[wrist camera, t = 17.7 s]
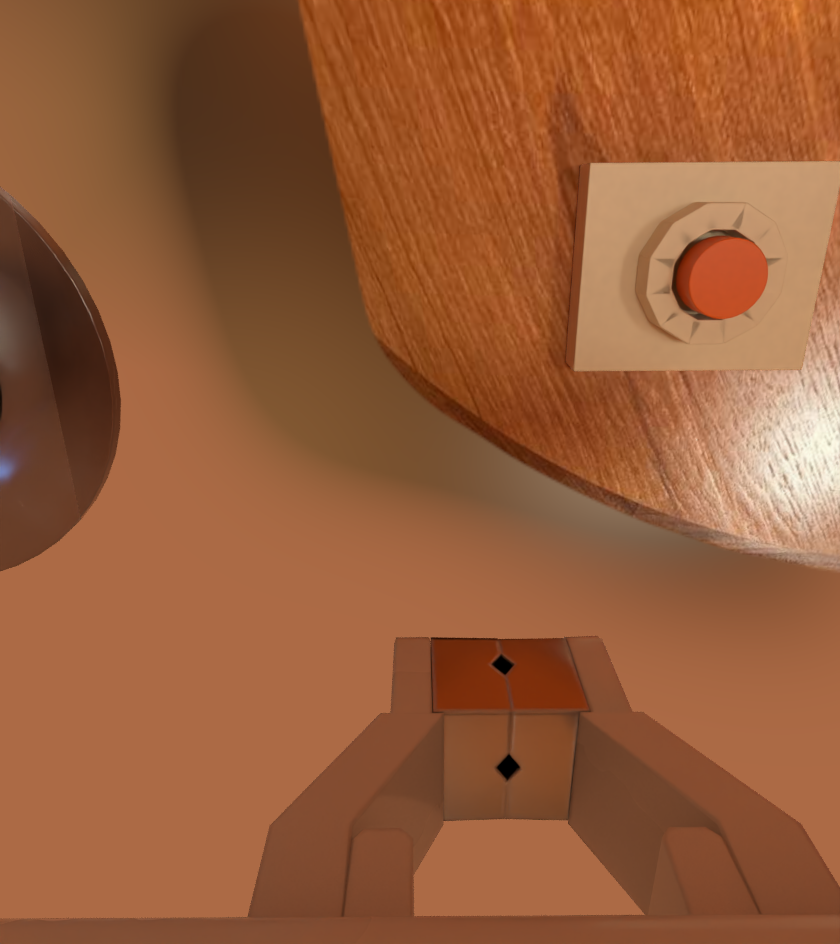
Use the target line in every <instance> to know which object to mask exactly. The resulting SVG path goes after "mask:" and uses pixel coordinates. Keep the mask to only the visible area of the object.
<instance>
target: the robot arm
mask: <svg viewBox="0 0 840 944" xmlns="http://www.w3.org/2000/svg"><path fill="white" fill-rule="evenodd" d="M392 680H393V681H392V697H391V698H392V699H391V713H381V714H380V715H378V716H377V717H376V719H374V721H372V722H371V724H370V725H369V726H368V727H367V728H366V729H365V730H364V731H363V732H362V733H361V734H360V735H359V736H358V737H357V738H356V739H355V740H354V741H353V742H352V743H351V744H350V745H349V746H348V747H347V748H346V749H345V750H344V751H343V752H342V753H341V754H340V755H339V756H338V757H337V758H336V759H335V760H334V761H333V762H332V763H331V764H330V765H329V766H328V767H327V768H326V769H325V770H324V771H323V772H322V773H321V774H320V775H319V776H318V777H317V778H316V779H315V780H314V781H313V782H312V783H311V784H310V785H309V787H307V789H305V791H303V793H302V794H301V795H300V796H299V797H298V798H297V799H296V800H295V801H294V802H293V803H292V804H291V805H290V806H289V807H288V808H287V809H286V810H285V811H284V812H283V813H282V814H281V815H280V816H279V817H278V818H277V819H276V820H275V821H274V822H273V823H272V824H271V825H270V827H269V831H268V835H267V840H266V844H265V848H264V852H263V856H262V860H261V864H260V868H259V872H258V876H257V880H256V884H255V889H254V893H253V897H252V901H251V905H250V909H249V913H248V917H236V918H235V917H232V918H231V917H230V918H229V917H222V918H221V917H220V918H50V919H49V918H42V919H41V918H39V919H0V944H840V887H839V885H838V884H837V882H836V881H835V879H834V877H833V875H832V874H831V872H830V871H829V869H828V868H827V866H826V864H825V862H824V861H823V859H822V857H821V856H820V854H819V852H818V851H817V849H816V848H815V846H814V844H813V843H812V841H811V839H810V838H809V836H808V834H807V833H806V831H805V829H804V828H803V826H802V825H801V824H800V823H799V822H798V821H796V820H795V819H793V818H792V817H790V816H789V815H788V814H786V813H785V812H783V811H782V810H781V809H779V808H778V807H776V806H775V805H774V804H772V803H771V802H769V801H768V800H767V799H765V798H764V797H762V796H761V795H759V794H758V793H757V792H755V791H754V790H752V789H751V788H750V787H748V786H747V785H745V784H744V783H742V782H741V781H740V780H738V779H737V778H735V777H734V776H733V775H731V774H730V773H728V772H727V771H725V770H724V769H723V768H721V767H720V766H718V765H717V764H716V763H714V762H713V761H711V760H710V759H709V758H707V757H706V756H704V755H703V754H702V753H700V752H699V751H697V750H696V749H695V748H693V747H692V746H690V745H689V744H687V743H686V742H685V741H683V740H682V739H680V738H679V737H677V736H676V735H675V734H673V733H672V732H670V731H669V730H668V729H666V728H665V727H663V726H662V725H660V724H659V723H658V722H656V721H655V720H653V719H652V718H651V717H649V716H648V715H646V714H645V713H644V712H632V709H631V707H630V705H629V702H628V700H627V698H626V695H625V693H624V691H623V688H622V686H621V683H620V681H619V679H618V676H617V674H616V672H615V669H614V667H613V665H612V662H611V660H610V658H609V655H608V653H607V650H606V648H605V646H604V643H603V641H602V639H600V638H599V637H598V636H586V637H585V636H584V637H564V638H552V639H551V638H548V639H547V638H546V639H495V638H431V647H430V639H429V638H428V637H422V638H419V637H418V638H417V637H416V638H396V640H395V643H394V661H393V679H392ZM484 819H533V820H568V824H569V825H570V826H571V827H572V828H573V830H574V831H575V832H576V833H577V834H578V836H579V837H580V838H581V839H582V840H583V842H584V843H585V844H586V845H587V846H588V847H589V849H590V850H591V851H592V852H593V853H594V855H595V856H596V857H597V858H598V859H599V860H600V862H601V863H602V864H603V865H604V866H605V868H606V869H607V870H608V871H609V872H610V874H611V875H612V876H613V877H614V878H615V879H616V881H617V882H618V883H619V884H620V885H621V886H622V888H623V889H624V890H625V891H626V892H627V894H628V895H629V896H630V897H631V898H632V899H633V900H634V902H635V903H636V904H637V905H638V906H639V908H640V909H641V910H642V911H643V912H644V914H645V915H584V916H583V915H572V916H571V915H569V916H417V917H416V916H414V889H413V888H414V886H413V883H414V882H413V881H414V880H413V875H414V874H415V872H416V870H417V869H418V867H419V865H420V863H421V862H422V860H423V858H424V856H425V855H426V853H427V852H428V850H429V848H430V846H431V845H432V843H433V841H434V840H435V838H436V836H437V835H438V833H439V831H440V829H441V828H442V826H443V821H456V820H484Z"/></svg>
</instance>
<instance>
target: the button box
mask: <svg viewBox="0 0 840 944" xmlns="http://www.w3.org/2000/svg"><path fill="white" fill-rule="evenodd" d="M839 188H840V161H772V162H642V163H588V164H583V165H580V175H579V188H578V201H577V215H576V228H575V241H574V255H573V268H572V281H571V295H570V308H569V321H568V335H567V348H566V363H567V364H568V365H569V366H570V367H571V369H572V370H573V371H701V370H801V369H802V365H803V361H804V356H805V351H806V346H807V341H808V337H809V332H810V327H811V322H812V317H813V313H814V308H815V303H816V298H817V294H818V289H819V284H820V279H821V274H822V270H823V265H824V260H825V255H826V250H827V246H828V241H829V236H830V231H831V227H832V222H833V217H834V212H835V207H836V203H837V198H838V193H839ZM712 236H730V237H738V238H743V239H747V240H749V241H751V242H753V243H754V244H756V245H757V246H758V247H759V248H760V249H761V250H762V252H763V254H764V256H765V258H766V261H767V265H768V279H767V283H766V286H765V289H764V291H763V293H762V295H761V296H760V298H759V299H758V300H757V302H756V303H755V304H754V305H753V306H752V307H751V308H749V309H748V310H747V311H745V312H744V313H742V314H740V315H738V316H735V317H732V318H728V319H715V318H711V317H708V316H705V315H703V314H701V313H698V312H696V311H694V310H692V309H690V308H689V307H687V306H686V305H685V304H684V303H683V301H682V300H681V298H680V296H679V294H678V291H677V287H676V275H677V270H678V267H679V264H680V262H681V260H682V258H683V257H684V255H685V254H686V253H687V251H688V250H689V249H690V248H691V247H693V246H694V245H695V244H696V243H698V242H699V241H701V240H703V239H706V238H709V237H712Z"/></svg>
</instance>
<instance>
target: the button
mask: <svg viewBox="0 0 840 944" xmlns="http://www.w3.org/2000/svg"><path fill="white" fill-rule="evenodd" d="M767 279H768V265H767V261H766V258H765V256H764V254H763V252H762V250H761V249H760V248H759V247H758V246H757V245H756V244H754V243H753V242H751V241H749V240H747V239H743V238H738V237H730V236H712V237H709V238H706V239H703V240H701V241H699V242H698V243H696V244H695V245H694V246H693V247H691V248H690V249H689V250H688V251H687V253H686V254H685V255H684V257H683V258H682V260H681V262H680V264H679V267H678V270H677V275H676V287H677V291H678V294H679V296H680V298H681V300H682V301H683V303H684V304H685V305H686V306H687V307H689V308H690V309H692V310H694V311H696V312H698V313H701V314H703V315H705V316H708V317H711V318H715V319H728V318H732V317H735V316H738V315H740V314H742V313H744V312H745V311H747V310H748V309H749V308H751V307H752V306H753V305H754V304H755V303H756V302H757V300H758V299H759V298H760V296H761V295H762V293H763V291H764V289H765V286H766V283H767Z"/></svg>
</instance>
